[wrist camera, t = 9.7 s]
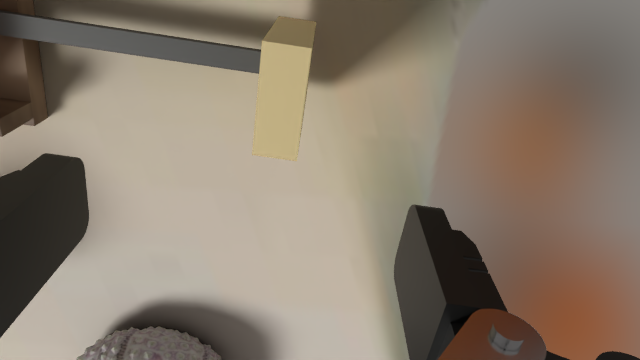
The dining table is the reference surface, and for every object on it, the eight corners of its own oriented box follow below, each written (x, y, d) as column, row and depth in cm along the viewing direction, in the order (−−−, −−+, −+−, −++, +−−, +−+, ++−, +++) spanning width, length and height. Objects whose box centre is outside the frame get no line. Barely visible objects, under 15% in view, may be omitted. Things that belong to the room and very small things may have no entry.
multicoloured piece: (-194, -91, 23) (-397, -104, 17) (320, -9, 24) (317, 8, 18) (-145, 69, 27) (-295, 109, 20) (301, 133, 28) (292, 190, 21)
